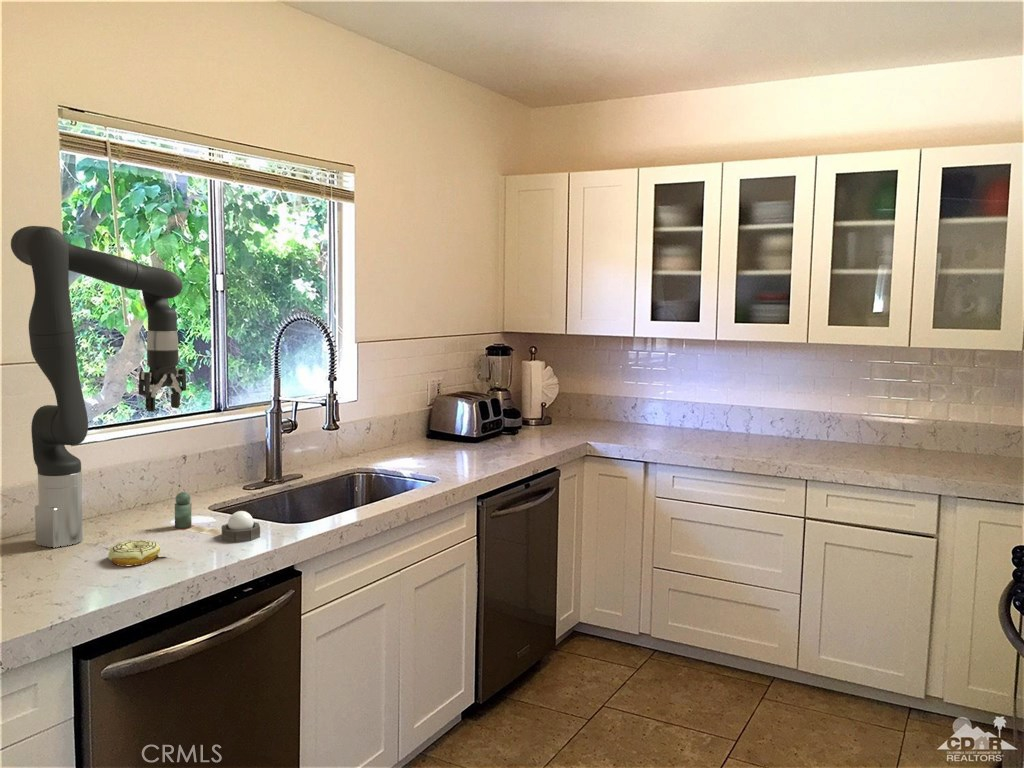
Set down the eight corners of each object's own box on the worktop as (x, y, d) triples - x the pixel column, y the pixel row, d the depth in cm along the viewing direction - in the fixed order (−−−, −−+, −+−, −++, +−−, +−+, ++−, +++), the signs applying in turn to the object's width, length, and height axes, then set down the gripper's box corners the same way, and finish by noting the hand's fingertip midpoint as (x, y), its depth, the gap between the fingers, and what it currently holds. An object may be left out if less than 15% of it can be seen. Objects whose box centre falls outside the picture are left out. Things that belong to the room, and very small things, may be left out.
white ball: (242, 539, 203) (242, 515, 202) (222, 536, 205) (222, 512, 204) (258, 533, 208) (258, 510, 208) (239, 530, 210) (239, 507, 210)
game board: (242, 549, 200) (242, 534, 200) (161, 535, 209) (161, 520, 209) (268, 538, 210) (268, 523, 209) (189, 525, 219) (189, 511, 218)
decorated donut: (100, 567, 185) (99, 551, 185) (122, 552, 196) (122, 536, 195) (146, 568, 185) (146, 552, 185) (166, 553, 196) (166, 538, 195)
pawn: (182, 529, 210) (182, 494, 209) (171, 527, 212) (171, 492, 211) (194, 526, 214) (194, 491, 213) (183, 523, 216) (183, 489, 215)
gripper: (153, 350, 209) (153, 414, 210) (193, 347, 222) (194, 407, 224) (130, 348, 211) (131, 411, 213) (171, 346, 225) (172, 405, 226)
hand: (163, 409), depth 218 cm, fingers open, 8 cm apart
